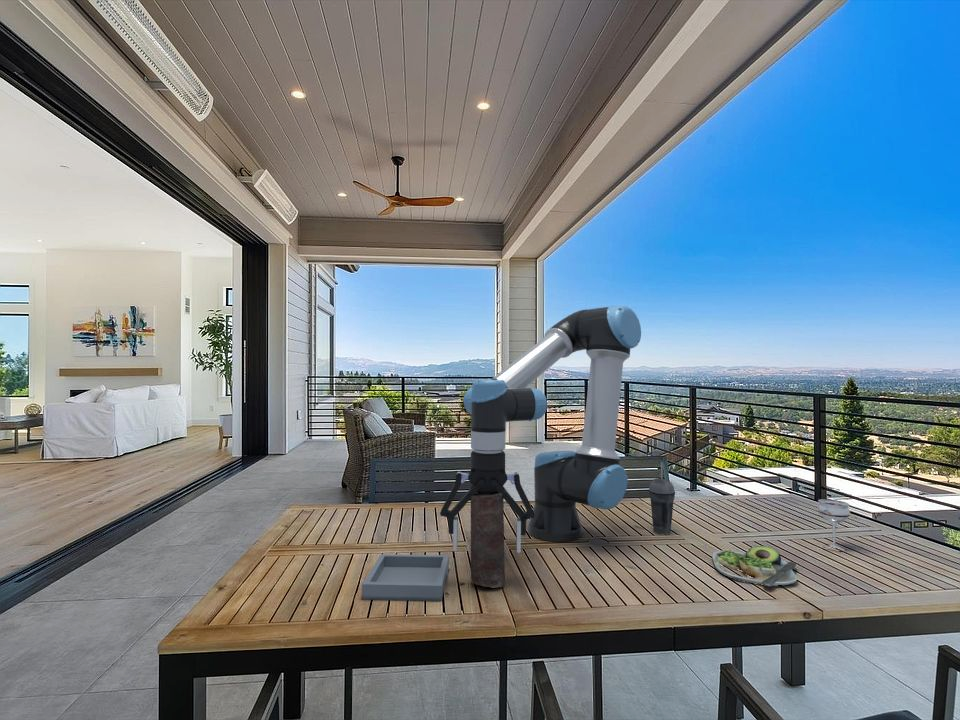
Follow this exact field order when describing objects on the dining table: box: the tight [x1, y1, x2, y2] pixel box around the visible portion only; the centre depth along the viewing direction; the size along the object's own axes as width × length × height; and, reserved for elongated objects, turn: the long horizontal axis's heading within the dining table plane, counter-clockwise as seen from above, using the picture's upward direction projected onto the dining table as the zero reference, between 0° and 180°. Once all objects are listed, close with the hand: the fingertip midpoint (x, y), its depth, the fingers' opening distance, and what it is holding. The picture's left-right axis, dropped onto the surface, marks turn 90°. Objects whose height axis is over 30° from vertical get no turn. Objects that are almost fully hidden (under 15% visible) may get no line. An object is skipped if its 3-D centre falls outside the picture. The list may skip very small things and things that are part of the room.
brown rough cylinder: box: [470, 492, 506, 589], centre depth 103 cm, size 8×7×20 cm
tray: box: [361, 553, 450, 602], centre depth 103 cm, size 16×16×3 cm
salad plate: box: [711, 545, 798, 587], centre depth 109 cm, size 19×18×5 cm
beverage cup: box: [648, 461, 676, 536], centre depth 137 cm, size 7×7×20 cm
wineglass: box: [817, 498, 851, 548], centre depth 125 cm, size 7×7×12 cm
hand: (486, 549), depth 102 cm, fingers open, 13 cm apart
